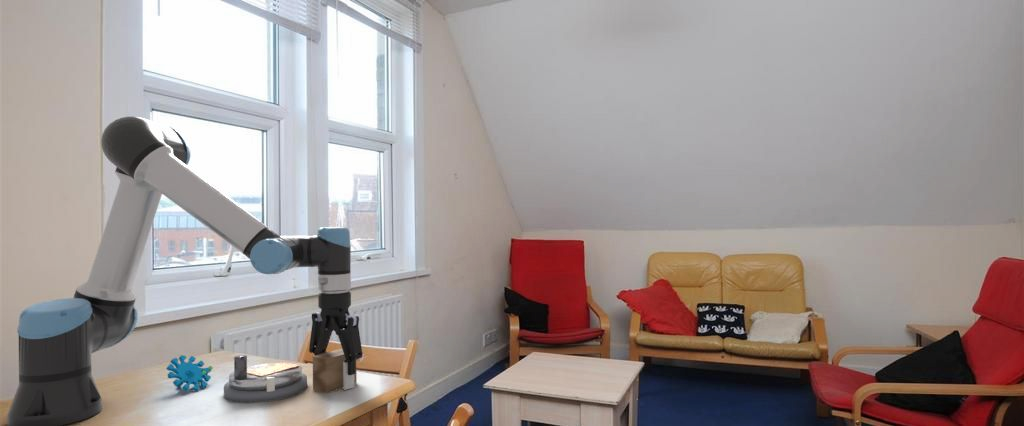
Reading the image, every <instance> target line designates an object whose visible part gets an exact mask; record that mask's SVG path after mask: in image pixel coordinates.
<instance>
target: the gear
mask: <svg viewBox="0 0 1024 426" xmlns="http://www.w3.org/2000/svg"><path fill="white" fill-rule="evenodd" d="M186 359H187V356H186V355H182V354H180V356H179V357H178V358H177V357H174V358H172V359H171V360H170V363H169V364H168V365H167V367H166V370H167V371H169V372H168V373H167V379H170V380H171V379H174V380H173V382H172V384H173V385H174V386H175V387H176V388H178V389H179V388H181V389H182V390H183V391H186V392H187V391H188V390H189V389H190V387H191V385H193V387H192V388H191V389H192V391H193V392H197V391H199V390H200V388H202V389H204V388H206V387H207V386H208V382H209V381H210V379H211V378H212V375H208V374H210V373H211V372H212V370H213V369H214V367H213V366H212V365H209V366H208V367H203V366H205V362H204V361H203V360H199V361H198V362H196V363H194V362H195V361H196V357H195V356H192V355H190V357H189V358H188V361H187V362H186V361H185V360H186ZM179 361H180V363H179ZM184 383H185V384H184ZM183 384H184V385H183ZM199 384H200V385H199Z"/></svg>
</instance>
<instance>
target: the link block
mask: <svg viewBox="0 0 1024 426" xmlns="http://www.w3.org/2000/svg"><path fill="white" fill-rule="evenodd" d="M326 352H327V351H326ZM350 356H351V354H350ZM345 360H346V359H345V356H344V352H343V349H342V347H341V348H338V349H335V350H332V351H328V352H327V353H323V354H319V355H316V356H315V355H312V390H313V391H316V392H319V393H324V394H329V393H332V392H336V391H338V390H340V389H344V387H343V362H344V361H345ZM357 378H358V377H357V368H356V373H355V374H354V383H356V384H358V383H357V380H358V379H357Z"/></svg>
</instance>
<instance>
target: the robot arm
mask: <svg viewBox="0 0 1024 426" xmlns="http://www.w3.org/2000/svg"><path fill="white" fill-rule="evenodd" d="M100 141H101V142H100V143H101V144H100V145H101V150H102V152H103V154H104V156H105V157H106V158H107V160H108V161H109V162H110V163H111V164H113V165H114V166H115V167H116V168H115V171H114V173H115V174H116V176H117V178H118V180H119V183H118V187H117V190H116V194H115V197H114V199H113V201H112V206H111V209H110V211H109V214H108V217H107V221H106V223H105V227H104V230H103V233H102V235H101V239H100V242H99V245H98V248H97V251H96V255H95V257H94V261H93V263H92V265H91V269H90V272H89V275H88V278H87V280H86V282H84V283H82V284H80V285H78V286H77V287H76V289H75V291H74V294H73V298H60V299H54V300H53V299H52V300H50V301H42V302H39V303H36V304H33V305H31V306H27V307H26V308H24V310H22V311H21V313H20V314H19V317H18V325H17V335H18V386H17V389H16V392H15V394H14V396H13V399H12V402H11V404H10V406H9V409H8V412H7V416H6V418H7V419H6V420H7V421H6V425H7V426H65V425H70V424H73V423H78V422H80V421H83V420H87V419H88V418H92V417H94V416H95V415H97V414H98V413H100V412H101V411H102V409H103V402H102V401H103V399H102V396H101V394H100V391H99V389H98V387H97V384H96V382H95V379H94V377H93V374H92V354H94V353H96V352H99V351H100V350H101V351H102V350H105V349H108V348H111V347H113V346H115V345H118V344H119V343H121V342H122V341H124V340H125V339H127V337H129V336H130V335H131V333H132V332H133V331H134V330H135V327H136V326H137V323H138V315H139V314H138V310H137V309H136V307H135V303H136V299H137V295H136V293H135V292H134V291H133V285H134V281H135V278H136V275H137V272H138V269H139V266H140V263H141V261H142V256H143V254H144V250H145V247H146V245H147V242H148V239H149V236H150V232H151V229H152V227H153V223H154V220H155V217H156V214H157V212H158V211H157V210H158V208H159V205H160V202H161V199H162V195H163V196H165V197H166V198H168V200H170V201H171V202H173V203H174V204H176V205H177V206H178V207H179V208H181V210H183V211H185V212H186V213H188V214H189V215H190V216H191V217H193V218H194V219H195V220H197V221H198V222H200V223H201V224H202V225H203V226H204V227H206V228H207V229H209V230H210V231H212V232H213V233H215V235H217V236H218V237H220V238H221V239H222V240H223V241H225V242H226V243H228V244H229V245H230V246H231V247H233V248H235V249H236V250H237V251H239V252H240V253H241V254H243V255H244V256H245V257H246V258H248V259H249V261H250V264H251V266H252V267H253V269H254V270H256V271H257V272H259V273H260V274H264V275H278V274H281V273H284V272H285V271H287V270H291V269H293V268H315V267H317V281H318V284H317V288H318V291H320V292H318V294H317V296H318V297H317V299H318V301H317V303H318V305H317V306H318V308H319V309H320V311H319V312H313V313H312V314H311V321H312V323H311V331H310V340H309V348H308V352H309V353H311V354H313V356H316V355H319V354H323V353H327V348H328V346H329V342H330V340H331V337H332V333H333V331H334V332H335V335H336V336H338V339H339V343H340V346H341V348H342V349H343V352H344V356H345V359H346V360H345V361H344V362H343V387H344V388H343V390H344V391H346V390H349V389H352V388H355V384H354V374H355V373H356V369H357V360H359V359H361V358H363V356H364V355H363V349H362V342H361V333H360V330H359V329H360V328H359V321H360V317H359V316H358V315H355V316H353V315H350V312H349V308H350V307H351V305H352V292H351V291H350V290H351V288H352V278H351V277H352V276H351V275H352V273H351V271H352V270H351V256H352V255H351V252H352V251H351V249H352V248H351V247H352V245H351V237H350V234H351V233H350V230H349V229H348V227H346V226H345V227H343V226H342V227H341V226H332V227H327V226H325V227H319V228H318V229H317V233H316V234H315V235H279V234H277V233H276V232H275V231H274V230H273V229H271V228H269V227H268V225H266V224H264V223H263V222H262V221H260V220H259V219H258V218H257V217H255V216H254V215H253V214H252V213H251V212H248V211H247V210H246V209H245V208H243V207H242V206H241V205H239V204H238V203H237V202H235V201H234V200H233V199H232V198H230V197H229V196H227V195H226V194H225V193H223V192H222V191H221V190H220V189H218V188H217V187H215V186H214V185H213V184H212V183H210V182H209V181H207V179H205V178H204V177H202V176H201V175H200V174H198V173H197V172H196V171H194V170H193V169H192V168H191V167H189V166H188V164H189V162H190V159H191V147H190V145H189V142H188V140H187V139H186V137H185V136H184V135H183V134H182V133H181V132H180V131H179V130H177V129H175V128H173V127H171V126H169V125H167V124H164V123H159V122H155V121H153V120H149V119H146V118H143V117H140V116H139V117H138V116H132V115H131V116H124V117H120V118H117V119H115V120H113V121H112V122H110V123H108V125H107V126H106V127H105V128H104V131H103V133H102V135H101V140H100ZM350 354H351V356H350Z"/></svg>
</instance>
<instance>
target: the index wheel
mask: <svg viewBox="0 0 1024 426" xmlns="http://www.w3.org/2000/svg"><path fill="white" fill-rule="evenodd" d="M233 368H234V369H233V371H232V372H231V373H230V374H229V375H228V382H229V386H230V387H231V388H233V389H237V390H247V391H254V390H267V378H269V377H275V388H279V387H284V386H287V385H290V384H293V383H295V382H297V381H299V380H300V379H301V378H302V373H303V367H302V366H301V365H299V364H297V363H291V362H284V361H282V362H270V363H259V364H255V365H249V366H248V356H247V355H246V354H242V355H241V354H240V355H239V354H238V355H234V357H233Z"/></svg>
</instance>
